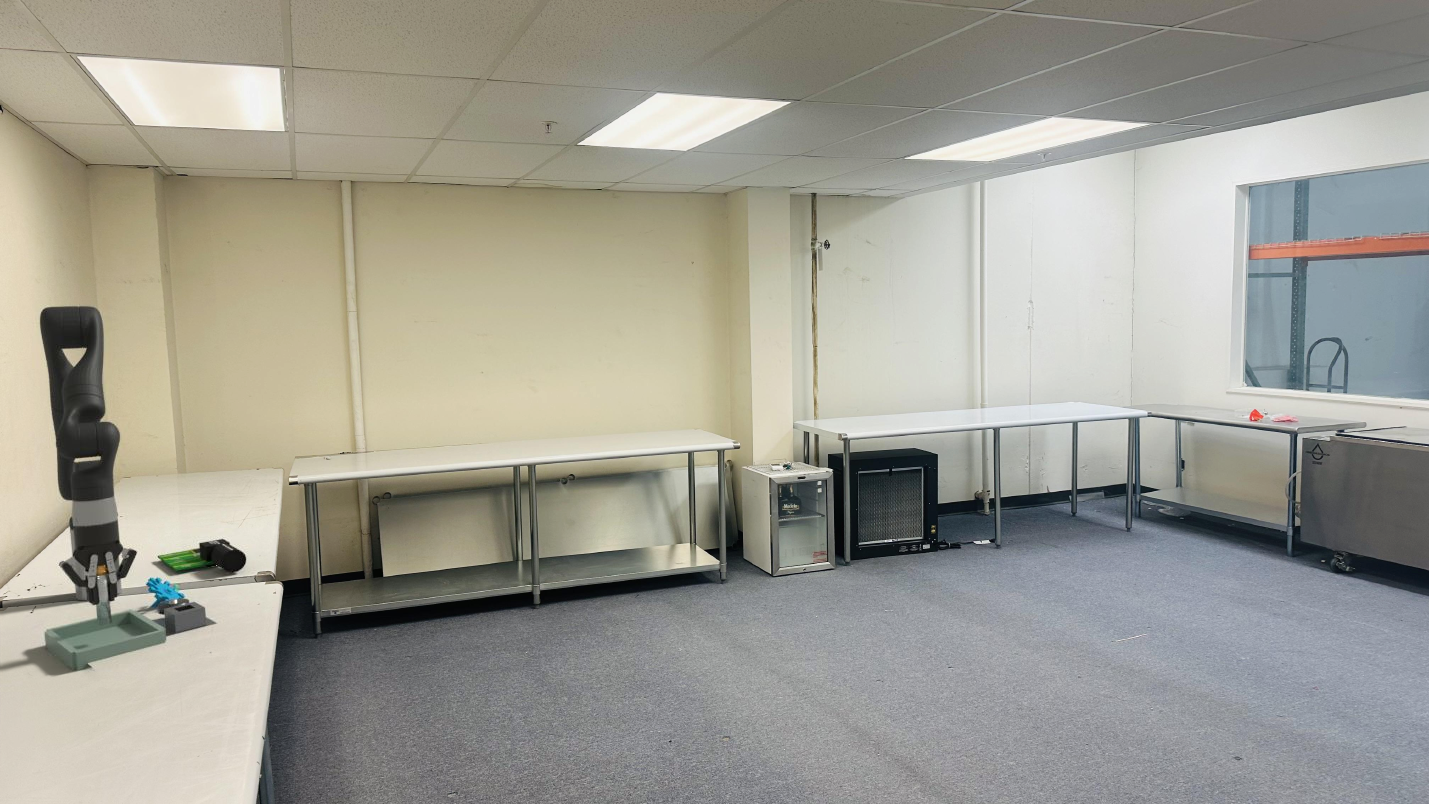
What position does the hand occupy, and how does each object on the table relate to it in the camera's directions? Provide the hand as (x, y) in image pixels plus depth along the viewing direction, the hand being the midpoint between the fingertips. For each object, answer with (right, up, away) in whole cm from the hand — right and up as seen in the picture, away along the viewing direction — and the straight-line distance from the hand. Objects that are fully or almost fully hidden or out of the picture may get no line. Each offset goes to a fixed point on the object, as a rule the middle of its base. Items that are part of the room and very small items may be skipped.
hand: (102, 602), depth 182 cm
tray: (0, -9, +1) cm, 9 cm away
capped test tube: (0, -5, 0) cm, 5 cm away
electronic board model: (-13, -4, +59) cm, 60 cm away
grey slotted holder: (+9, -8, +12) cm, 17 cm away
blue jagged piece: (-2, -7, +25) cm, 26 cm away
